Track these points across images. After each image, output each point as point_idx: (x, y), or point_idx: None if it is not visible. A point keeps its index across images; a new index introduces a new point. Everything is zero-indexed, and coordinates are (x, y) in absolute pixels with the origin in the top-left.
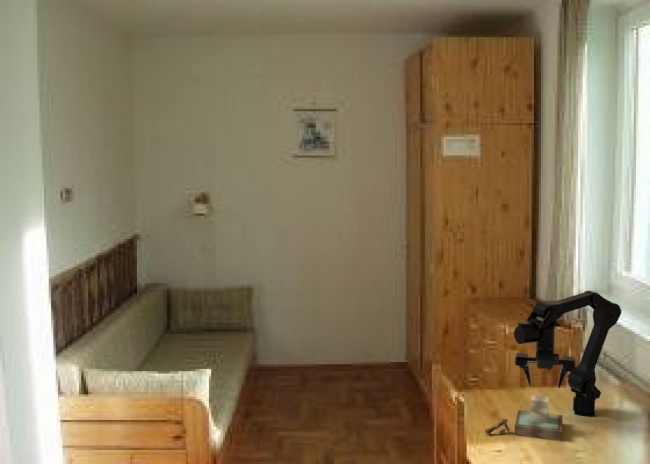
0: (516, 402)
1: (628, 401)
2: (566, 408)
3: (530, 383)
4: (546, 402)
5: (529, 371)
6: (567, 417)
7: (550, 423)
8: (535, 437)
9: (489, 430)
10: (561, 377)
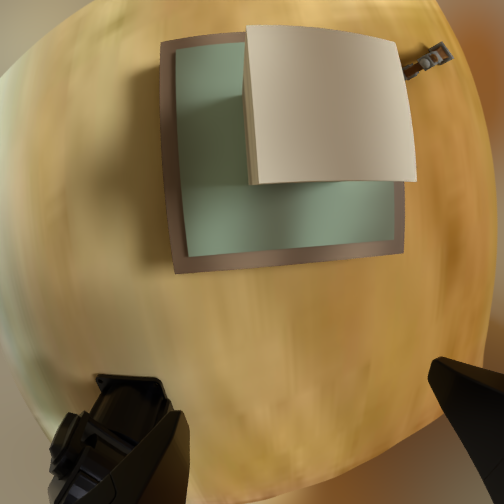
0: (376, 394)
1: None
2: (202, 417)
3: (444, 365)
4: (259, 27)
5: (498, 443)
6: (178, 345)
7: (222, 102)
8: None
9: (439, 47)
10: (120, 492)
